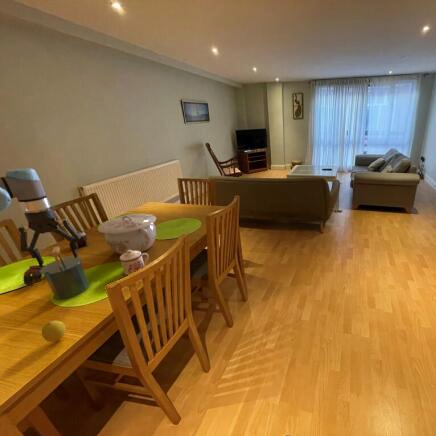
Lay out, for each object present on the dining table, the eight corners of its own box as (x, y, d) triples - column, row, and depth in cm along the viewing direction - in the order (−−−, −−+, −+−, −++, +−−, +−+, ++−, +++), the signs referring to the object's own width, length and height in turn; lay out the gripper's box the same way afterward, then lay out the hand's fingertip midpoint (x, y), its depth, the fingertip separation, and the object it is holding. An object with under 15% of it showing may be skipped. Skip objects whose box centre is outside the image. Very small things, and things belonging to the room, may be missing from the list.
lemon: (63, 331, 84) (55, 313, 81) (73, 336, 82) (64, 318, 79) (43, 343, 80) (33, 325, 77) (53, 349, 78) (43, 331, 75)
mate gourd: (92, 242, 146) (84, 220, 140) (80, 249, 139) (71, 225, 133) (81, 242, 147) (72, 219, 141) (69, 248, 139) (59, 225, 134)
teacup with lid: (129, 278, 112) (122, 257, 108) (120, 272, 117) (114, 251, 113) (155, 267, 121) (149, 246, 117) (146, 261, 126) (140, 242, 122)
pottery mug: (21, 282, 111) (26, 264, 112) (49, 282, 118) (54, 265, 119) (21, 287, 103) (26, 268, 104) (51, 286, 110) (56, 268, 111)
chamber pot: (116, 241, 147) (106, 210, 139) (165, 235, 155) (158, 205, 147) (98, 266, 122) (84, 229, 114) (157, 257, 130) (148, 222, 122)
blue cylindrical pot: (52, 303, 98) (39, 277, 93) (57, 287, 106) (46, 263, 102) (88, 292, 103) (78, 268, 99) (90, 279, 112) (81, 255, 108)
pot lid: (37, 280, 92) (28, 261, 89) (45, 264, 102) (37, 247, 99) (80, 269, 99) (73, 251, 96) (83, 256, 109) (77, 239, 105)
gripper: (77, 202, 99) (94, 248, 108) (-2, 212, 88) (24, 264, 96) (74, 207, 94) (93, 256, 102) (-11, 219, 82) (17, 273, 90)
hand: (59, 260), depth 99 cm, fingers open, 10 cm apart
